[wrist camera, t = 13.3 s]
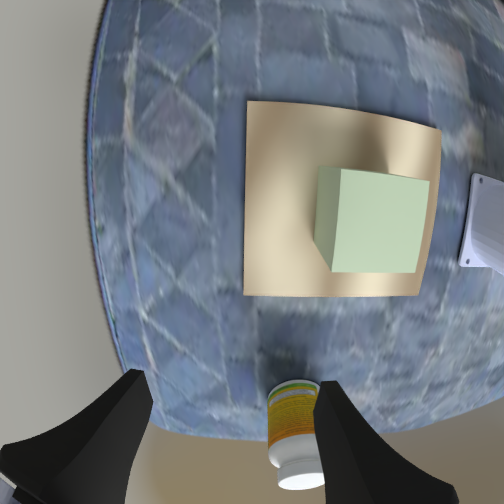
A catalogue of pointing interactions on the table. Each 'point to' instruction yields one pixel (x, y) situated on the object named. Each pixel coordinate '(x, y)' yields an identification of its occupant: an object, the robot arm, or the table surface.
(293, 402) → the supplement bottle
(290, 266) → the wooden board
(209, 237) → the table surface
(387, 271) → the sage cube
